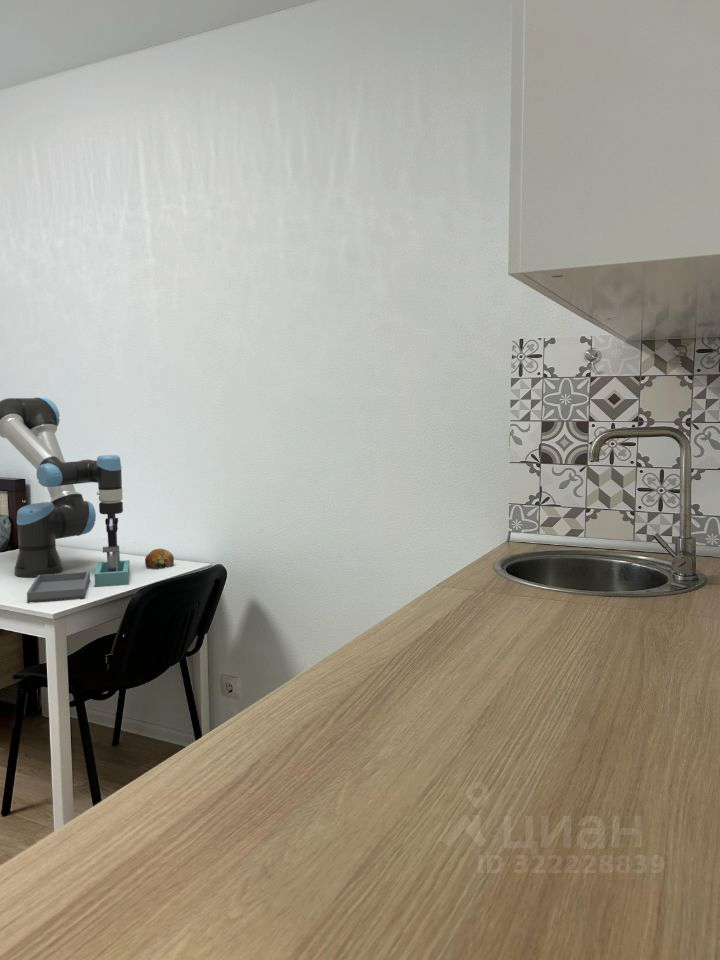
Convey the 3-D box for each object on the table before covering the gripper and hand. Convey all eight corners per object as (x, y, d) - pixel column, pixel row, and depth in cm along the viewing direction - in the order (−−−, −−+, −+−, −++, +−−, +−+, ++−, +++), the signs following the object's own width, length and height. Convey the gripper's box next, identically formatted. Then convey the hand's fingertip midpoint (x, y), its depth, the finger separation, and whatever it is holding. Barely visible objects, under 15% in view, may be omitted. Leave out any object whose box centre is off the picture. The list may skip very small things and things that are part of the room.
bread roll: (176, 574, 274) (179, 552, 277) (167, 567, 265) (169, 545, 267) (149, 574, 275) (152, 552, 278) (139, 567, 266) (142, 545, 268)
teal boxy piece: (98, 573, 259) (97, 547, 258) (129, 571, 262) (128, 545, 261) (95, 586, 242) (93, 558, 241) (128, 584, 245) (126, 556, 244)
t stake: (104, 581, 249) (102, 546, 247) (120, 580, 250) (119, 545, 249) (104, 583, 246) (102, 548, 245) (120, 582, 248) (119, 547, 246)
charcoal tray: (38, 584, 246) (38, 575, 246) (90, 580, 250) (89, 571, 250) (27, 603, 224) (26, 592, 223) (84, 598, 228) (83, 588, 228)
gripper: (100, 499, 263) (103, 566, 266) (97, 504, 249) (101, 576, 252) (123, 498, 265) (126, 565, 268) (121, 503, 251) (124, 574, 254)
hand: (114, 570), depth 260 cm, fingers closed on teal boxy piece, 1 cm apart
